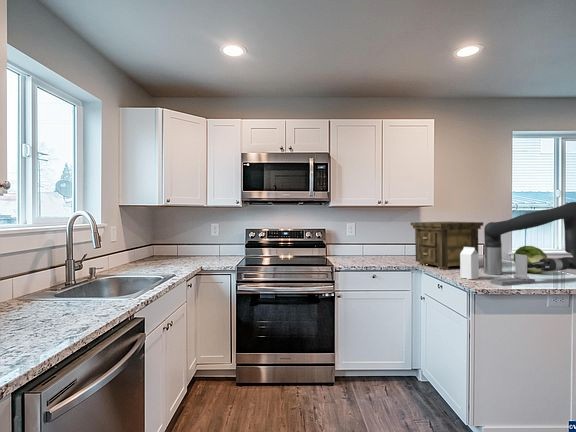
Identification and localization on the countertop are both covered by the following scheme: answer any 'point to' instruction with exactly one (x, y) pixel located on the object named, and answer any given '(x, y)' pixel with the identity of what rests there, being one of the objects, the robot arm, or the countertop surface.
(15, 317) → the countertop surface
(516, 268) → the fader tab
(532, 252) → the lettuce
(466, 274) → the milk carton
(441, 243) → the wooden drawer cabinet
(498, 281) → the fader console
